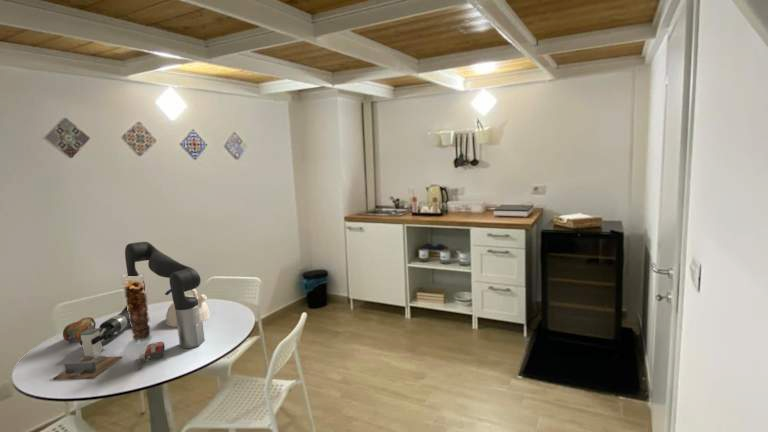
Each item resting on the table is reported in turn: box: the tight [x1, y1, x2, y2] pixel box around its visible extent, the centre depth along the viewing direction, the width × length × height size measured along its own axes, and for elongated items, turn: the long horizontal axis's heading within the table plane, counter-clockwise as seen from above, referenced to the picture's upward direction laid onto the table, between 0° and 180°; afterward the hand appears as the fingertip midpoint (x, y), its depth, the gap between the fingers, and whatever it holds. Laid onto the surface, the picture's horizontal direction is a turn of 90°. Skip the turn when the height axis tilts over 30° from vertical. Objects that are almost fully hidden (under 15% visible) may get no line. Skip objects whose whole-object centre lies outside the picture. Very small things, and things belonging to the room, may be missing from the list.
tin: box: [62, 316, 97, 343], centre depth 197 cm, size 15×3×8 cm, turn 168°
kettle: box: [164, 288, 211, 328], centre depth 213 cm, size 20×21×18 cm
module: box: [80, 327, 103, 357], centre depth 180 cm, size 4×5×10 cm
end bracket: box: [64, 361, 96, 374], centre depth 163 cm, size 11×2×4 cm, turn 88°
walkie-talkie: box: [137, 341, 165, 370], centre depth 174 cm, size 9×4×20 cm
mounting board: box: [53, 355, 123, 380], centre depth 168 cm, size 16×16×1 cm
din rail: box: [71, 355, 107, 376], centre depth 168 cm, size 4×14×1 cm, turn 177°
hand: (86, 342), depth 178 cm, fingers closed on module, 4 cm apart
